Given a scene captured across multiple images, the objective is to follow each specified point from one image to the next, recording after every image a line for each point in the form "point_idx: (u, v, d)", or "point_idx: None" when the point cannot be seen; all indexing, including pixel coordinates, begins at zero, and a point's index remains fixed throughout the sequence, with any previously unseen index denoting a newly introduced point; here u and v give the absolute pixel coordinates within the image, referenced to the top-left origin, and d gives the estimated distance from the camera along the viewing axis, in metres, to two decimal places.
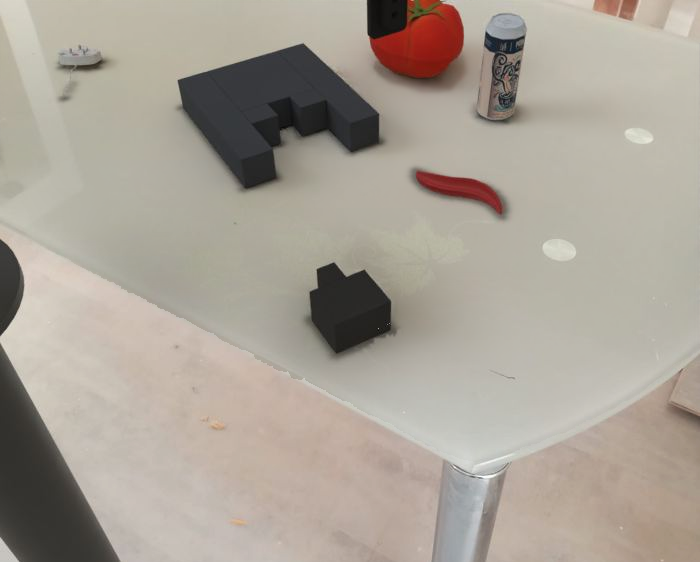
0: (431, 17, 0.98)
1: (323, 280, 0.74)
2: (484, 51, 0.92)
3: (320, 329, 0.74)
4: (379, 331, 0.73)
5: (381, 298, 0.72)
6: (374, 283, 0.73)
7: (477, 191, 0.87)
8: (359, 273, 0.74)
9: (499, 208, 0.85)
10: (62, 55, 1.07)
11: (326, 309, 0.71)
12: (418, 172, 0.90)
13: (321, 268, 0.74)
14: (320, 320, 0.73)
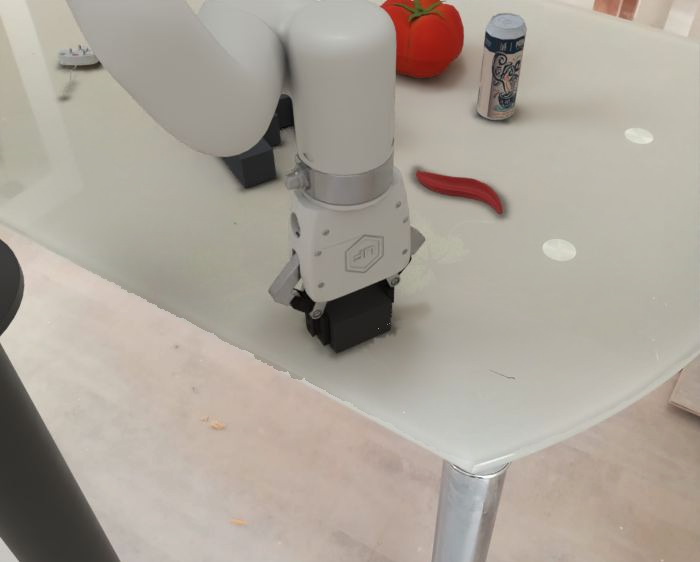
0: (431, 17, 0.98)
1: None
2: (484, 51, 0.92)
3: None
4: (379, 331, 0.73)
5: (381, 298, 0.72)
6: (374, 283, 0.73)
7: (477, 190, 0.87)
8: None
9: (499, 208, 0.85)
10: (62, 55, 1.07)
11: (326, 309, 0.71)
12: (418, 172, 0.90)
13: None
14: None
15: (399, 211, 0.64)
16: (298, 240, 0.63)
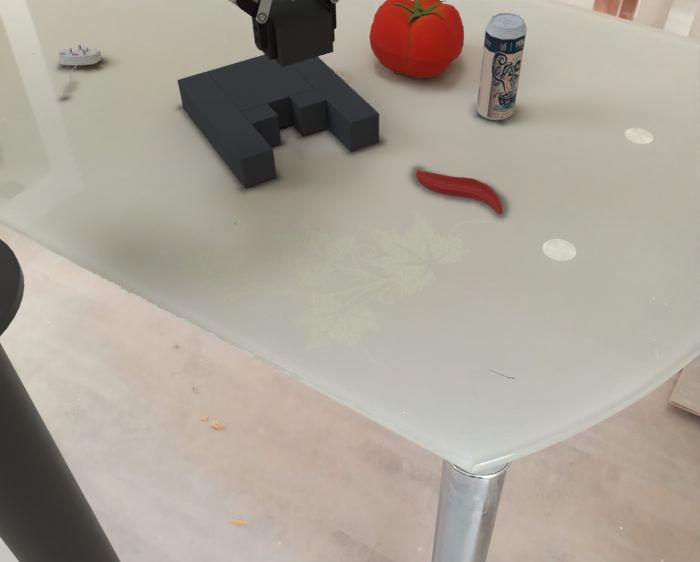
0: (431, 17, 0.98)
1: (271, 4, 0.80)
2: (484, 51, 0.92)
3: None
4: (322, 49, 0.80)
5: (323, 12, 0.78)
6: (317, 4, 0.79)
7: (477, 190, 0.87)
8: None
9: (499, 208, 0.85)
10: (62, 55, 1.07)
11: (272, 20, 0.77)
12: (418, 171, 0.90)
13: None
14: None
15: None
16: None
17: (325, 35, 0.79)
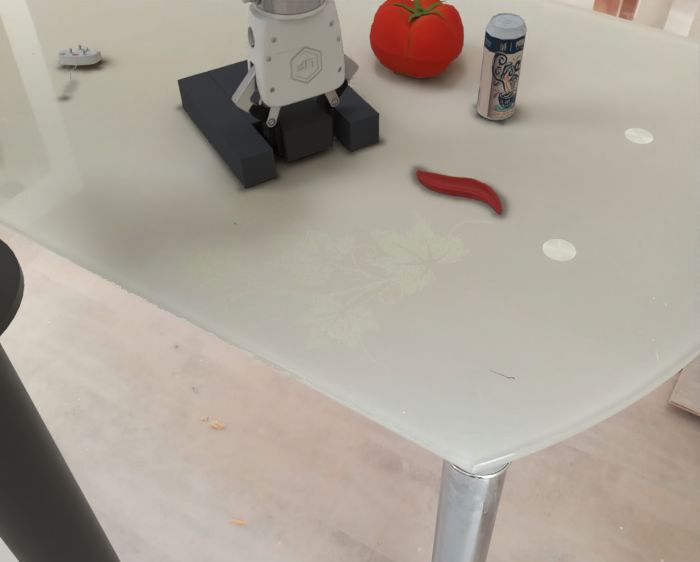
0: (431, 17, 0.98)
1: None
2: (484, 51, 0.92)
3: None
4: (323, 145, 0.92)
5: (324, 115, 0.90)
6: (319, 106, 0.91)
7: (477, 190, 0.87)
8: (307, 100, 0.92)
9: (499, 208, 0.85)
10: (62, 55, 1.07)
11: (279, 122, 0.89)
12: (419, 171, 0.90)
13: None
14: None
15: (333, 30, 0.82)
16: (253, 50, 0.81)
17: (326, 134, 0.91)
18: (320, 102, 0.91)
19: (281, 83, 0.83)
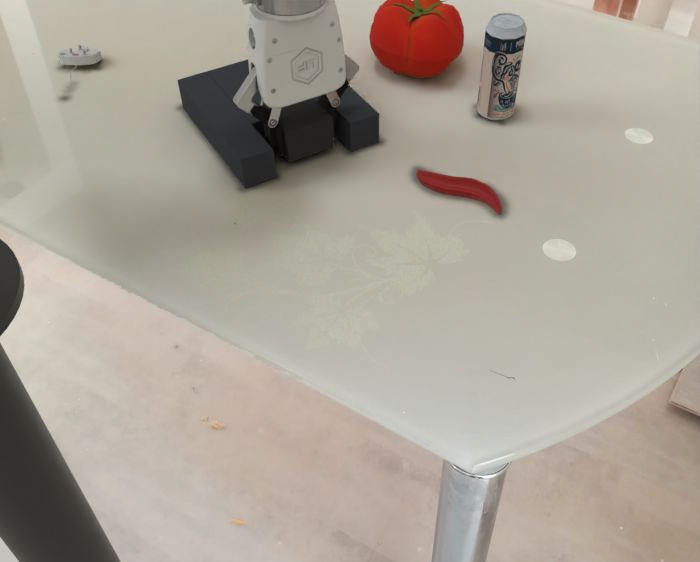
0: (431, 17, 0.98)
1: None
2: (484, 51, 0.92)
3: None
4: (324, 146, 0.92)
5: (325, 116, 0.90)
6: (320, 106, 0.91)
7: (477, 191, 0.87)
8: (309, 100, 0.92)
9: (498, 208, 0.85)
10: (62, 55, 1.07)
11: (281, 123, 0.89)
12: (419, 171, 0.90)
13: None
14: None
15: (333, 30, 0.82)
16: (254, 51, 0.81)
17: (327, 134, 0.91)
18: (321, 102, 0.91)
19: (282, 84, 0.83)
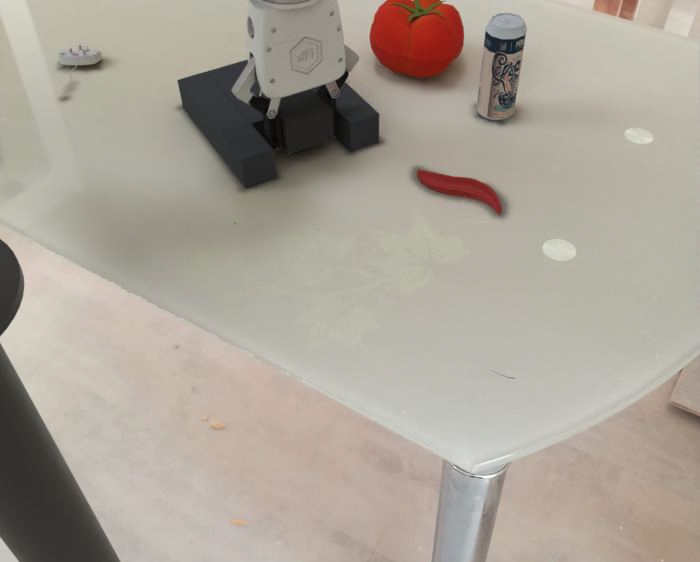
0: (431, 17, 0.98)
1: None
2: (484, 51, 0.92)
3: None
4: (324, 137, 0.91)
5: (325, 107, 0.89)
6: (320, 97, 0.90)
7: (477, 191, 0.87)
8: (308, 91, 0.91)
9: (498, 208, 0.85)
10: (62, 55, 1.07)
11: (280, 114, 0.88)
12: (419, 171, 0.90)
13: None
14: None
15: (333, 20, 0.81)
16: (253, 40, 0.80)
17: (327, 125, 0.90)
18: (320, 94, 0.90)
19: (281, 74, 0.82)
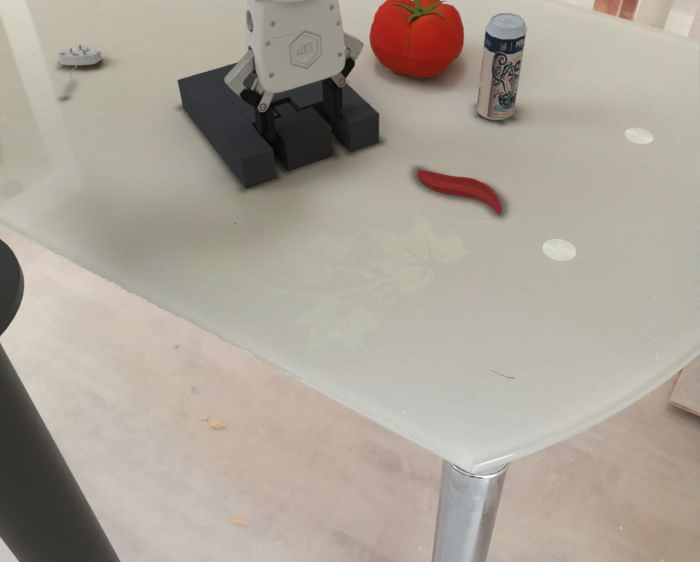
0: (431, 17, 0.98)
1: (279, 114, 0.93)
2: (484, 51, 0.92)
3: (277, 154, 0.93)
4: (323, 154, 0.92)
5: (324, 125, 0.91)
6: (319, 115, 0.92)
7: (477, 190, 0.87)
8: (307, 109, 0.93)
9: (498, 208, 0.85)
10: (62, 55, 1.07)
11: (280, 132, 0.90)
12: (419, 170, 0.90)
13: (278, 106, 0.93)
14: (276, 144, 0.92)
15: (332, 14, 0.80)
16: (252, 34, 0.80)
17: (326, 143, 0.91)
18: (326, 83, 0.90)
19: (280, 68, 0.81)
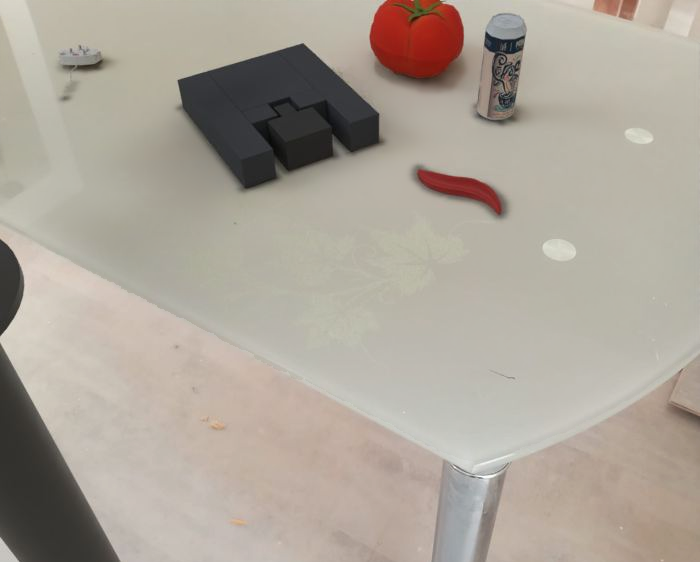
0: (431, 17, 0.98)
1: (279, 114, 0.93)
2: (484, 51, 0.92)
3: (277, 154, 0.93)
4: (323, 154, 0.92)
5: (324, 125, 0.91)
6: (319, 115, 0.92)
7: (477, 190, 0.87)
8: (307, 109, 0.93)
9: (498, 208, 0.85)
10: (62, 55, 1.07)
11: (280, 132, 0.90)
12: (420, 170, 0.90)
13: (278, 106, 0.93)
14: (276, 144, 0.92)
15: None
16: None
17: (326, 143, 0.91)
18: None
19: None
